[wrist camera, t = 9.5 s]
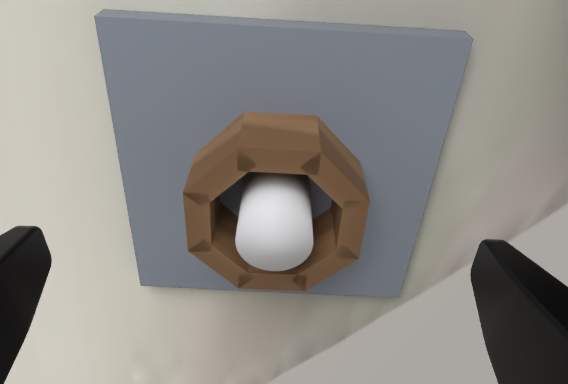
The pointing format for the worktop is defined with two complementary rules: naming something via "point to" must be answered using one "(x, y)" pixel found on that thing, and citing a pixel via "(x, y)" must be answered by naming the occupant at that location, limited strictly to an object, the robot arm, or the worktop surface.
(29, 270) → the robot arm
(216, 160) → the walnut ring
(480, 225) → the worktop surface
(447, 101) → the post plate
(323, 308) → the worktop surface
